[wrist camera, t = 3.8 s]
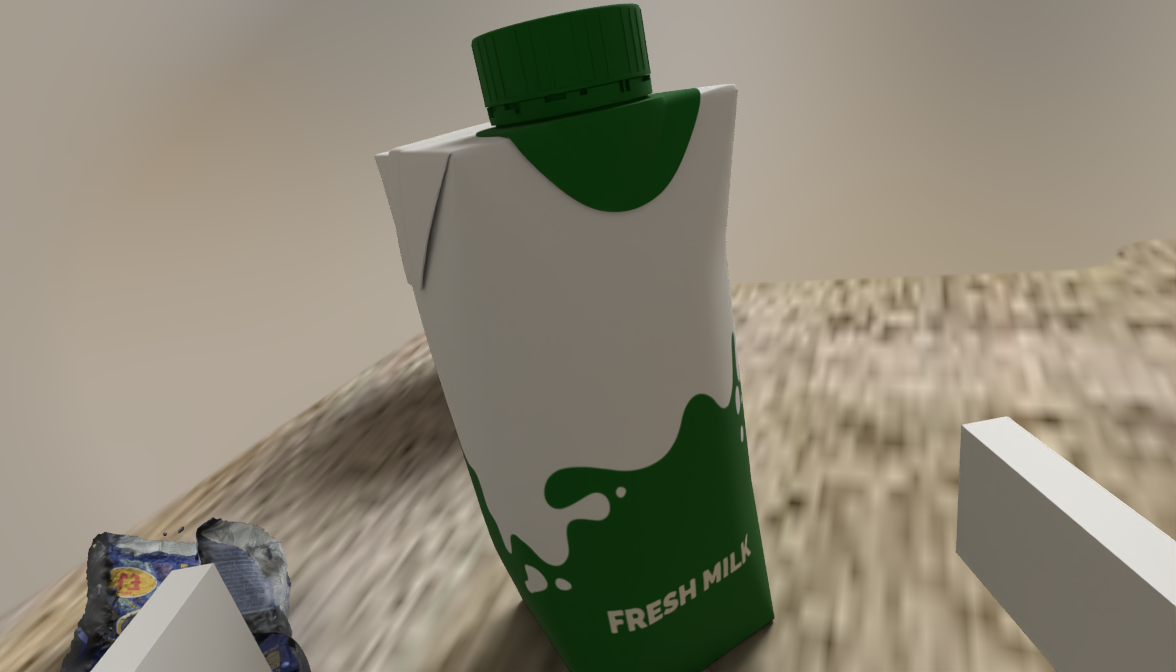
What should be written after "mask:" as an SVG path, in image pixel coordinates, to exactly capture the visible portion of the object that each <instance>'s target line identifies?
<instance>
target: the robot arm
mask: <svg viewBox="0 0 1176 672" xmlns="http://www.w3.org/2000/svg"><path fill="white" fill-rule="evenodd" d="M956 553H957V554H958V555H959V556H960V557H961V559H962V560H963V561H964V562H965V563H966V565H967V566H968V567H969V568H970V569H971V570H972V572H973V573H974V574H975V575H976V576H977V578H978V579H979V580H980V581H981V582H982V583H983V585H984V586H985V587H986V588H987V589H988V590H989V592H990V593H991V594H992V595H993V596H994V598H995V599H996V600H997V601H998V602H999V603H1000V605H1001V606H1002V607H1003V608H1004V609H1005V611H1006V612H1007V613H1008V614H1009V615H1010V616H1011V618H1012V619H1013V620H1014V621H1015V622H1016V624H1017V625H1018V626H1019V627H1020V628H1021V629H1022V631H1023V632H1024V633H1025V634H1026V635H1027V637H1028V638H1029V639H1030V640H1031V641H1032V642H1033V644H1034V645H1035V646H1036V647H1037V648H1038V650H1039V651H1040V652H1041V653H1042V654H1043V655H1044V657H1045V658H1046V659H1047V660H1048V661H1049V663H1050V664H1051V665H1052V666H1053V667H1054V668H1055V670H1056V671H1057V672H1176V541H1175V540H1173V539H1172V538H1171V537H1169V536H1168V535H1167V534H1165V533H1164V532H1163V531H1161V530H1160V529H1158V528H1157V527H1156V526H1154V525H1153V524H1152V523H1150V522H1149V521H1148V520H1146V519H1145V518H1144V517H1142V516H1141V515H1140V514H1138V513H1137V512H1136V511H1134V510H1133V509H1131V508H1130V507H1129V506H1127V505H1126V504H1125V503H1123V502H1122V501H1121V500H1119V499H1118V498H1117V497H1115V496H1114V495H1113V494H1111V493H1110V492H1109V491H1107V490H1106V489H1104V488H1103V487H1102V486H1100V485H1099V484H1098V483H1096V482H1095V481H1094V480H1092V479H1091V478H1090V477H1088V476H1087V475H1086V474H1084V473H1083V472H1082V471H1080V470H1079V469H1077V468H1076V467H1075V466H1073V465H1072V464H1071V463H1069V462H1068V461H1067V460H1065V459H1064V458H1063V457H1061V456H1060V455H1059V454H1057V453H1056V452H1054V451H1053V450H1052V449H1050V448H1049V447H1048V446H1046V445H1045V444H1044V443H1042V442H1041V441H1040V440H1038V439H1037V438H1036V437H1034V436H1033V435H1032V434H1030V433H1029V432H1027V431H1026V430H1025V429H1023V428H1022V427H1021V426H1019V425H1018V424H1017V423H1015V422H1014V421H1013V420H1011V419H1010V418H1009V417H1002V418H996V419H991V420H986V421H980V422H975V423H969V424H964V425H961V448H960V471H959V494H958V517H957V540H956ZM91 672H272V670H271V668H270V667H269V665H268V663H267V661H266V659H265V657H264V655H263V654H262V652H261V650H260V648H259V646H258V644H257V643H256V641H255V639H254V637H253V635H252V633H251V631H250V630H249V628H248V626H247V624H246V622H245V620H244V618H243V617H242V615H241V613H240V611H239V609H238V607H237V606H236V604H235V602H234V600H233V598H232V596H231V594H230V593H229V591H228V589H227V587H226V585H225V583H224V581H223V580H222V578H221V576H220V574H219V572H218V570H217V569H216V567H215V565H214V563H211V564H205V565H200V566H195V567H189V568H184V569H178V570H173V571H171V572H170V574H169V575H168V576H167V577H166V579H165V580H164V581H163V582H162V583H161V585H160V586H159V587H158V588H157V590H156V591H155V592H154V593H153V595H152V596H151V597H150V598H149V600H148V601H147V602H146V603H145V605H144V606H143V607H142V608H141V610H140V611H139V612H138V613H137V615H136V616H135V617H134V618H133V619H132V621H131V622H130V623H129V624H128V626H127V627H126V628H125V629H124V631H123V632H122V633H121V634H120V636H119V637H118V638H117V639H116V641H115V642H114V643H113V644H112V646H111V647H110V648H109V649H108V650H107V652H106V653H105V654H104V655H103V657H102V658H101V659H100V660H99V662H98V663H97V664H96V665H95V667H94V668H93V669H92V670H91Z"/></svg>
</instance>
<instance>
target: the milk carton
mask: <svg viewBox="0 0 1176 672" xmlns="http://www.w3.org/2000/svg"><path fill="white" fill-rule="evenodd" d="M471 46H472V50H473V54H474V59H475V63H476V67H477V72H478V76H479V80H480V85H481V89H482V93H483V98H484V102H485V107H489V108H487V111H488V115H489V119H490V122H489V123H485V124H481V125H477V126H473V127H469V128H466V129H462V130H458V131H455V132H451V133H448V134H444V135H440V136H437V137H433V138H430V139H426V140H423V141H419V142H416V143H412V144H408V145H405V146H401V147H397V148H393V149H391V150H390V151H388V152H384V153H380V154H377V155H375V159H376V163H377V166H378V169H379V172H380V174H381V178H382V181H383V184H384V188H385V192H386V195H387V198H388V202H389V205H390V209H391V212H392V216H393V219H394V222H395V226H396V231H397V237H398V243H399V247H400V253H401V257H402V262H403V266H404V270H405V274H406V278H407V281H408V283H409V284H410V285H412V287H413V290H414V294H415V298H416V302H417V306H418V309H419V313H420V316H421V320H422V323H423V327H424V330H425V334H426V337H427V341H428V344H429V347H430V351H431V354H432V357H433V360H434V363H435V366H436V369H437V373H438V376H439V379H440V382H441V385H442V388H443V391H444V395H445V398H446V401H447V404H448V407H449V410H450V413H451V417H452V420H453V423H454V426H455V429H456V432H457V435H458V439H459V442H460V445H461V448H462V451H463V454H464V457H465V461H466V464H467V467H468V470H469V473H470V476H471V479H472V483H473V486H474V489H475V492H476V495H477V498H478V501H479V504H480V508H481V511H482V514H483V516H484V519H485V522H486V525H487V528H488V531H489V533H490V536H491V539H492V541H493V544H494V546H495V548H496V550H497V552H498V554H499V556H500V558H501V560H502V562H503V564H504V565H505V567H506V569H507V571H508V573H509V575H510V576H511V578H512V580H513V582H514V584H515V585H516V587H517V589H518V591H519V593H520V595H521V597H522V599H523V601H524V602H525V604H526V605H527V607H528V608H529V610H530V611H531V613H532V614H533V616H534V617H535V619H536V620H537V622H538V623H539V625H540V626H541V628H542V629H543V631H544V632H545V634H546V635H547V637H548V638H549V640H550V641H551V643H552V645H553V646H554V648H555V649H556V651H557V652H558V654H559V655H560V657H561V658H562V660H563V661H564V663H565V664H566V666H567V667H568V669H569V670H570V672H700V671H701V670H703V669H704V668H705V667H707V666H708V665H710V664H711V663H712V662H714V661H715V660H717V659H718V658H719V657H721V656H722V655H724V654H725V653H726V652H728V651H729V650H731V649H732V648H733V647H735V646H736V645H738V644H739V643H741V642H742V641H743V640H745V639H746V638H748V637H749V636H750V635H752V634H753V633H755V632H756V631H757V630H759V629H760V628H762V627H763V626H764V625H766V624H767V623H769V622H770V621H771V620H773V619H774V612H773V606H772V601H771V595H770V589H769V583H768V577H767V571H766V565H765V559H764V553H763V547H762V541H761V535H760V529H759V523H758V517H757V511H756V505H755V500H754V494H753V488H752V482H751V473H750V464H749V455H748V446H747V437H746V428H745V419H744V410H743V401H742V392H741V383H740V374H739V365H738V356H737V347H736V338H735V329H734V320H733V311H732V302H731V292H730V283H729V274H728V264H727V255H726V227H727V213H728V201H729V189H730V176H731V165H732V153H733V141H734V129H735V117H736V105H737V92H738V90H737V88H736V86H735V84H726V85H716V86H708V87H700V88H692V89H684V90H677V91H670V92H662V93H656V94H651V93H652V86H651V78H650V73H651V72H650V67H649V60H648V53H647V47H646V40H645V34H644V27H643V21H642V14H641V9H640V7H639V5H637V4H616V5H608V6H600V7H594V8H588V9H582V10H576V11H571V12H566V13H561V14H556V15H551V16H547V17H543V18H538V19H534V20H530V21H525V22H522V23H518V24H514V25H510V26H507V27H503V28H500V29H497V30H494V31H491V32H488V33H485V34H482V35H480V36H478V37H476V38H474V39H473V40H472V45H471ZM647 74H649V75H647Z"/></svg>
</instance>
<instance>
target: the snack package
mask: <svg viewBox="0 0 1176 672" xmlns="http://www.w3.org/2000/svg"><path fill="white" fill-rule="evenodd" d="M183 530H184V527H182V528H181V529H179V530H178V533H180V532H182V531H183ZM163 535H164V536H166V535H167V533H166V532H165V533H163ZM196 539H197V544H196V543H195V542H193V544H192V545H191V543H190V542H188V544H187V543H184V542H180V543H177V542H175V541H174V542H170V541H157V540H155V541H149V540H142V539H141V538H139V537H137V536H129V535H117V534H112V533H107V532H104V533H103V534H98V535H97V536H96V537H95V538H94V539H93V543H92V546H91V547H90V549H89V552H88V562H87V571H86V573H87V578H86V579H87V580H88V583H87V584H88V593H87V597H88V602H87V605H86V608H85V614H84V615H83V617H82V619H81V620H80V621H79V623H78V629H76V630H75V632H74V639H73V640H72V641H71V652H70V653H68V654H67V655H66V657H65V658H64V660H63V663H62V669H61V671H60V672H91V670H92V669H93V668H94V667H95V665H96V664H97V663H98V662H99V660H100V659H101V658H102V657H103V655H104V654H105V653H106V652H107V650H108V649H109V648H110V647H111V646H112V644H113V643H114V642H115V641H116V639H117V638H118V637H119V636H120V634H121V633H122V632H123V631H124V629H125V628H126V627H127V626H128V624H129V623H130V622H131V621H132V619H133V618H134V617H135V616H136V615H137V613H138V612H139V611H140V610H141V608H142V607H143V606H144V605H145V603H146V602H147V601H148V600H149V598H150V597H151V596H152V595H153V593H154V592H155V591H156V590H157V588H158V587H159V586H160V585H161V583H162V582H163V581H164V580H165V579H166V577H167V576H168V575H169V574H170V572H171V571H173V570H178V569H184V568H189V567H195V566H200V565H205V564H211V563H214V565H215V567H216V569H217V570H218V572H219V574H220V576H221V578H222V580H223V581H224V583H225V585H226V587H227V589H228V591H229V593H230V594H231V596H232V598H233V600H234V602H235V604H236V606H237V607H238V609H239V611H240V613H241V615H242V617H243V618H244V620H245V622H246V624H247V626H248V628H249V630H250V631H251V633H252V635H253V637H254V639H255V641H256V643H257V644H258V646H259V648H260V650H261V652H262V654H263V655H264V657H265V659H266V661H267V663H268V665H269V667H270V668H271V670H272V672H311V670H310V666H309V663H308V660H307V658H306V656H305V654H304V652H303V650H302V649H301V647H300V646H299V645H298V643H297V642H296V641H295V640H294V639H293V638H291V637H292V630H291V627H290V624H289V622H288V608H289V596H290V587H291V582H290V578H289V576H288V572H287V567H288V565H287V561H286V554H285V552H284V551H283V547H282V546H281V542H277V539H276V538H272V537H270V536H269V534H268V533H267V532H264V529H262V528H260V527H259V526H257V525H256V526H254V525H252V524H246V523H238V522H228V521H227V520H226V521H222V519H221V518H220V519H215V518H211V519H210V520H209V521H207V522H206V523H204V524H203V525H201V526H200V527H199V528H198V529H197V532H196ZM289 582H290V583H289Z"/></svg>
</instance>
